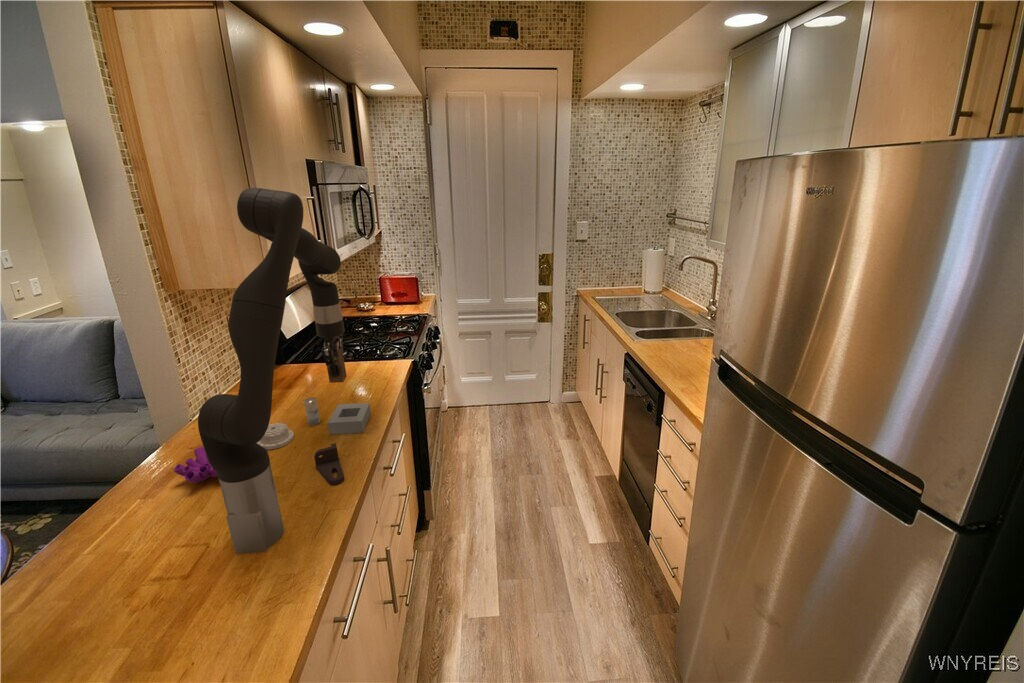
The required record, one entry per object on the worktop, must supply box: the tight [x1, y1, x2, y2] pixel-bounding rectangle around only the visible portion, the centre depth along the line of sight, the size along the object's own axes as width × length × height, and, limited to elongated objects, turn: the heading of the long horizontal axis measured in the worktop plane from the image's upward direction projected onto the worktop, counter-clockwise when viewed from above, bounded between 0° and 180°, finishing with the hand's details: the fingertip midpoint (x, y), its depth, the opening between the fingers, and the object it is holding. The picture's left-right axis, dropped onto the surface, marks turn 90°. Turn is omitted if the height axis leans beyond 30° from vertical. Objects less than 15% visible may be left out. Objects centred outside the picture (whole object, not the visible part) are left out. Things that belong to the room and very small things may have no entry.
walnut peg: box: [326, 346, 348, 384], centre depth 133 cm, size 4×4×10 cm
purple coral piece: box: [173, 446, 218, 484], centre depth 115 cm, size 11×15×10 cm
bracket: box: [313, 443, 345, 486], centre depth 117 cm, size 6×12×5 cm, turn 29°
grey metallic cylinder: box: [303, 397, 321, 426], centre depth 141 cm, size 4×4×8 cm
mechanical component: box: [257, 422, 295, 451], centre depth 132 cm, size 10×4×10 cm
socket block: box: [327, 402, 372, 435], centre depth 141 cm, size 12×10×4 cm
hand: (337, 372), depth 134 cm, fingers closed on walnut peg, 4 cm apart
